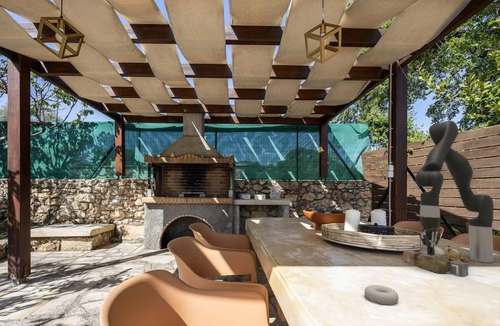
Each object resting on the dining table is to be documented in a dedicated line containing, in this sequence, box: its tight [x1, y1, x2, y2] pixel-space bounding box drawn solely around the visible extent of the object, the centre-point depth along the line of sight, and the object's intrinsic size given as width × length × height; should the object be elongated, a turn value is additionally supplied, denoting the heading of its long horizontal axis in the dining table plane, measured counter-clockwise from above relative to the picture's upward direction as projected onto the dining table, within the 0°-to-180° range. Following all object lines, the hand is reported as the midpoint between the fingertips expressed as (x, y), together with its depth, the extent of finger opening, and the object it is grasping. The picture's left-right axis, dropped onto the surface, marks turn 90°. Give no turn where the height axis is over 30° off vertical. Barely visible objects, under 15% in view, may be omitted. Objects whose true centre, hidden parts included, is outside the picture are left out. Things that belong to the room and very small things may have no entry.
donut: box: [364, 284, 400, 305], centre depth 89 cm, size 10×4×10 cm
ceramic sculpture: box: [433, 245, 473, 264], centre depth 133 cm, size 11×9×15 cm
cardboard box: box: [402, 250, 421, 265], centre depth 133 cm, size 5×5×5 cm
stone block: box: [416, 255, 449, 274], centre depth 122 cm, size 6×12×5 cm, turn 16°
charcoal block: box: [448, 260, 469, 278], centre depth 116 cm, size 5×5×5 cm
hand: (430, 255), depth 122 cm, fingers closed
